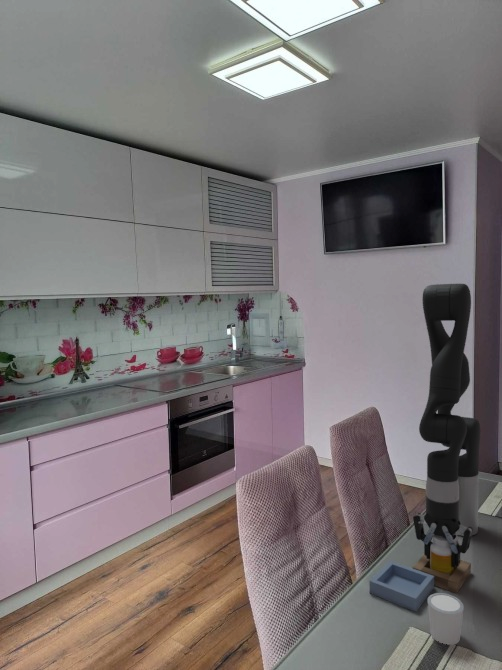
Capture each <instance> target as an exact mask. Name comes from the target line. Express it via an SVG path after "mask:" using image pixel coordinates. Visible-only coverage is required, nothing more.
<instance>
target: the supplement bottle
mask: <svg viewBox="0 0 502 670" xmlns="http://www.w3.org/2000/svg"><path fill="white" fill-rule="evenodd" d="M432 542H433V543H432V544H431V546H430V569H432V570H435V571H438V572H441V573H444V574H447V575H450V576H451V575H452V574H453V572H454V567H452V552H453V551H452V548H451V545H450V544H449V543H448V541H447V538H443V537H442V536H436V535H434V536H433V538H432Z"/></svg>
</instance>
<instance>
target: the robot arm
mask: <svg viewBox="0 0 502 670" xmlns="http://www.w3.org/2000/svg"><path fill="white" fill-rule="evenodd" d="M471 307H472V296H471V291H470V288H469V286H468V285H467V284H466V283H443V284H441V283H440V284H438V283H437V284H430V285H427V286H425V288H424V289H423V291H422V309H423V314H424V321H425V325H426V329H427V334H428V340H429V346H430V356H431V357H430V358H431V367H430V372H429V388H428V389H429V390H428V391H429V392H428V397H427V402H426V406H425V408H424V411H423V414H422V416H421V419H420V423H419V428H418V429H419V431H418V432H419V434H420V437H421V438H422V439H423V441H425V442H427V443H433V444H441V445H442V446H443V447H446V448H447V449H442V450H433V451H431V452H429V453H428V455H427V456H426V457H427V459H426V481H425V482H426V484H425V489H424V490H425V491H424V492H425V514H421V512H417V513H416V514H414V516H413V517H412V518H413V519H412V520H413V525H414V530H415V537H416V540H418V541H422V542H423V545H424V548H423V549H424V552H423V555H424V554H425V556H426V558H427V559H430V546H431V544H432V543H433V536H434V535H436V536H442V537H443V538H447V541H448V543H449V544H450V545H451V548H452V551H453V552H452V567H454V568H455V567H456V566H458V565H459V563H460V560H461V553H462V554H465V553H467V551H468V550H469V549H470V543H471V540H472V536H474V535H476V534H478V532H479V531H478V530H479V528H478V527H479V469H480V468H479V465H480V464H479V462H480V461H479V460H480V444H481V423H480V421H479V419H478V418H474V417H467V416H461V415H458V414H457V415H456V414H452V410H453V408H454V406H455V405H456V404H458V403H459V402H460V399H461V397H462V396H463V395H464V394H465V393H466V391H467V389H468V388H469V386H470V384H471V382H470V381H471V376H470V375H471V374H470V362H469V359H468V356H467V355H466V354H465V348H466V341H467V336H468V330H469V329H468V328H469V323H470V318H471V317H470V316H471V311H472V310H471V309H472V308H471ZM442 321H443V322H444V321H445V322H449V321H451V322H452V321H454V324H453V328H452V332H451V334H450V335H449V334H448V333H447V330H445V327H444V324H443V322H442ZM461 450H465V451H466V453H464V454H461V452H462V451H461ZM460 454H461V455H460ZM424 522H425V523H426V525H427V527H428V528H429V529H428V531H427V533H425V529H424ZM458 536H461V537H462V541H461V543H460V542H459V541H460V540H459V537H458Z"/></svg>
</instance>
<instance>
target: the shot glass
mask: <svg viewBox="0 0 502 670" xmlns="http://www.w3.org/2000/svg"><path fill="white" fill-rule="evenodd" d="M427 610H428V611H427V612H428V621H429V630H430V631H429V632H430V636H431V635H432V636H431V638H433V640H435V641H436V642H438V641H439V642H438V643H440V644H442V643H443V645H446V644H447V646H453V645H456V644H458V643H459V642H460V641H461V632H462V626H463V615H464V603H463V602H462V600H461V599H459V598H457V597H456V596H454V595H451V594H449V593H444V592H443V593H442V592H435V593H433V594H429V595H428V597H427Z"/></svg>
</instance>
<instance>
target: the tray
mask: <svg viewBox="0 0 502 670" xmlns="http://www.w3.org/2000/svg"><path fill="white" fill-rule="evenodd" d="M434 589H435V585H434V576H433V575H430V574H427V573H424V572H421V571H418V570H415V569H413V568H412V567H410V566H406V565H404V564H402V563H398V562H394V561H392V560H389V561H388V562H387V563H386V564H385V565H384V566H383V567H381V569H380V570H379V571H378V572H377V573H376V574H375V575H374V576H373V577H371V579H370V580H369V594H371V595H374V596H376V597H379V598H381V599H384V600H386V601H388V602H391V603H393V604H395V605H397V606H401V607H403V608H404V609H408V610H411V611H412V612H418V610H419V608H420V607H421V606H422V604H424V602H425V600H427V599H428V597H429V596H430V595H431V593H432V592H433V591H434Z"/></svg>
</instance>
